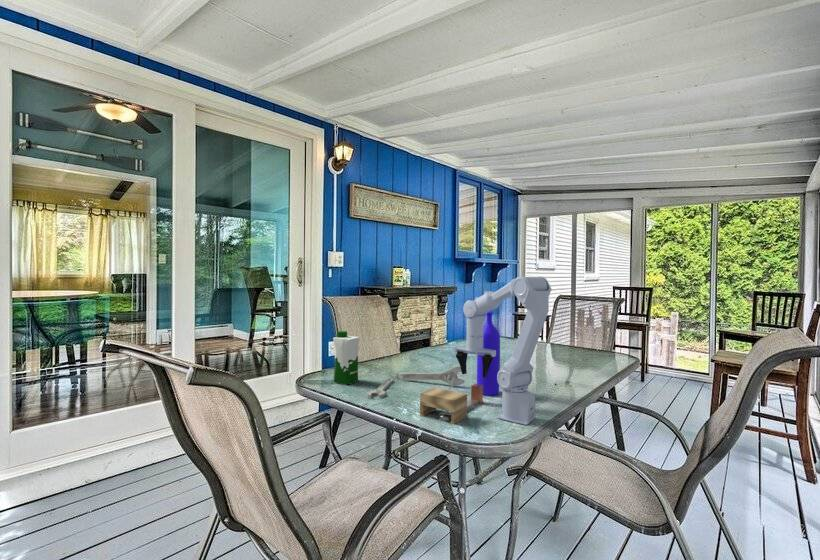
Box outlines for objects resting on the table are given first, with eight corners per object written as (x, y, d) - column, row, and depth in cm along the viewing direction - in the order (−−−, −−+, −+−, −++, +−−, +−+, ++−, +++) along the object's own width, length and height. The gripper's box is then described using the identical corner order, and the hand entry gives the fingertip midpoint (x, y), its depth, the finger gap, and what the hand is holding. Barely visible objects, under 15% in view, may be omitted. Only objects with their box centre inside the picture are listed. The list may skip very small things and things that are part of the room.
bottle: (502, 392, 157) (504, 312, 157) (494, 397, 150) (495, 313, 150) (482, 388, 162) (483, 310, 161) (472, 393, 155) (474, 312, 154)
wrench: (398, 386, 175) (468, 386, 163) (396, 387, 173) (467, 387, 162) (396, 366, 175) (466, 365, 163) (394, 367, 173) (465, 366, 162)
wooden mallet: (482, 402, 145) (483, 385, 145) (458, 415, 131) (459, 396, 131) (474, 400, 146) (475, 383, 146) (450, 413, 133) (450, 394, 133)
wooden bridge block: (466, 416, 130) (467, 394, 130) (453, 424, 123) (454, 400, 123) (433, 409, 137) (434, 387, 137) (419, 415, 130) (420, 393, 130)
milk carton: (343, 378, 175) (343, 330, 175) (361, 380, 171) (362, 331, 171) (330, 382, 167) (330, 332, 167) (349, 385, 163) (350, 334, 163)
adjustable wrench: (387, 381, 172) (387, 377, 172) (402, 383, 171) (402, 378, 171) (364, 398, 148) (364, 393, 148) (381, 400, 146) (381, 395, 146)
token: (456, 419, 128) (456, 414, 128) (449, 423, 125) (449, 418, 125) (443, 416, 131) (443, 411, 131) (436, 420, 127) (436, 415, 127)
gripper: (499, 336, 144) (498, 375, 144) (460, 332, 151) (459, 370, 151) (492, 338, 138) (491, 380, 138) (451, 334, 145) (451, 374, 145)
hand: (474, 375), depth 144 cm, fingers open, 7 cm apart
